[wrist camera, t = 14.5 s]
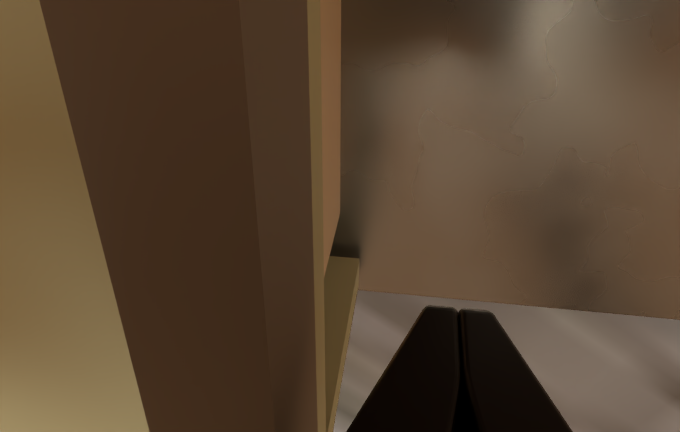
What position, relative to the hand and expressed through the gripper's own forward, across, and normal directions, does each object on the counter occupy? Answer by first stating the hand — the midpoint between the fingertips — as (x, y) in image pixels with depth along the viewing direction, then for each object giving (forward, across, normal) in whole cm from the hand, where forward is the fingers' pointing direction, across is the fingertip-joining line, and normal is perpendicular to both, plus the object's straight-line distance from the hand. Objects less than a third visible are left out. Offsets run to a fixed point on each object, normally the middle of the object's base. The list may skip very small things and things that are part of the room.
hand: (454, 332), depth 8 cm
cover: (+7, +5, 0) cm, 9 cm away
